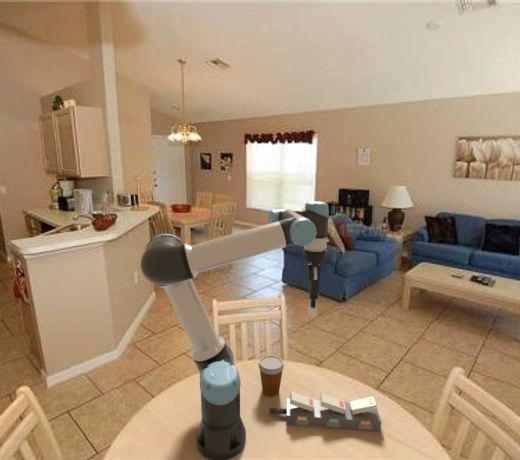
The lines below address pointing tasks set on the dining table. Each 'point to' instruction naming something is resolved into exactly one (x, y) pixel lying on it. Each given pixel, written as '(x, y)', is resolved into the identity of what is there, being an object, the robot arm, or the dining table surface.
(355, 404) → the cream rocker switch
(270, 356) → the disposable coffee cup
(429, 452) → the dining table surface
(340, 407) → the cream switch plate
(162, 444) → the dining table surface
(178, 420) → the dining table surface
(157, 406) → the dining table surface
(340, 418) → the power strip
